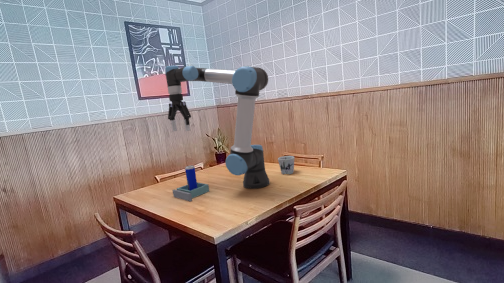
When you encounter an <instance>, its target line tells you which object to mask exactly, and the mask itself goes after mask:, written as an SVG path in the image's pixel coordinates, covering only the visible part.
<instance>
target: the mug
mask: <svg viewBox="0 0 504 283" xmlns="http://www.w3.org/2000/svg"><path fill="white" fill-rule="evenodd" d="M277 162H278V165H279V168H280V173H281V175H284V174H289V175H291V174H294V173H293V172H295V156H293V155H285V156H284V155H282V156H279V157H278V158H277Z"/></svg>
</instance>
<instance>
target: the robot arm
mask: <svg viewBox="0 0 504 283" xmlns="http://www.w3.org/2000/svg"><path fill="white" fill-rule="evenodd" d="M164 72H165V73H164V74H165V79H166V85H167V92H168V94H169V95H168V97H169V98H168V99H169V103H168V114H167V120H169V121H170V125H171V130H172V132H177V131H178V128H177V122H176V115H177V112H178V111H179V112H180V114H181V116H182V117H183V125H184V129H185V130H184V131H185V132H190V131H191V127H190V124H191V122H190V118H192V115H191V113H190V110H189V109H188V105H187V102H186V101H184V96H183V94H182V93H183V90H182V84H181V83H184V82H203V83H204V82H205V83H217V84H228V85H232V86H233V88H234V90H235V96H236V97H237V107H236V116H235V117H236V119H235V127H234V128H235V130H234V141H233V145H231V146H230V152H229V153H230V154H229V155H227V157H226V158H225V168H227V170H228V172H229V173H230V174H232V175H234V176H241V175H243V181H242V186H243V188H245V189H250V190H251V189H253V190H255V189H261V188H265V187H267V186H269V185H270V183H271V182H270V178H269V176H268V174H267V172H266V165H265V157H264V156H265V155H264V149H263V145H261V144H252V136H253V135H252V134H253V127H254V126H253V125H254V117H255V116H254V115H255V106H256V100H257V98H259V97H260V91H263V90H264V89H265V88H266V87H267V86H268V83H269V75H268V73H267V72H266V70H265V69H263V68H261V67H256V66H248V65H246V66H245V65H244V66H240V67H238V68H237V69H222V68H221V69H220V68H219V69H218V68H207V67H195V66H194V65H187V66H183V67H180V68H179V66H178V65H176V64H175V65H167V66H165V67H164ZM170 102H171V103H170Z"/></svg>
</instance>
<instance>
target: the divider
mask: <svg viewBox="0 0 504 283" xmlns="http://www.w3.org/2000/svg"><path fill="white" fill-rule="evenodd" d="M172 195H173V198H176V199H180V200H182V201H183V200H184V201H187V202H193V198H192V195H191V193H187V192H183V191H179V190H177V189H176V188H175V189H172Z"/></svg>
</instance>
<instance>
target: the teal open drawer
mask: <svg viewBox="0 0 504 283" xmlns="http://www.w3.org/2000/svg"><path fill="white" fill-rule="evenodd" d="M197 187H198V188H196V189H194V190H191V191H189V190H188V184H185V185H181V186H180V187H177V188H176V190H179V191H183V192H187V193H191V195H192V199H194V198H196V197H198V196H201V195H204V194H206V193H208V192H210V187H209V184H208V183H202V182H198V181H197Z"/></svg>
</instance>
